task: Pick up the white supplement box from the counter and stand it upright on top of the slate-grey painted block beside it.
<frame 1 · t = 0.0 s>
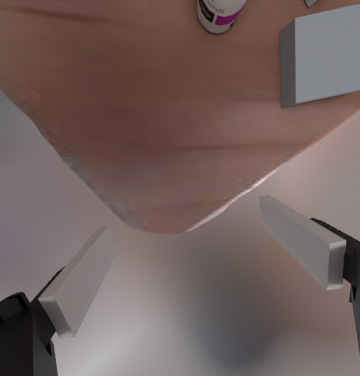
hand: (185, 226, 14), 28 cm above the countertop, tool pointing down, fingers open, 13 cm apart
supplement can: (217, 10, 33), on the countertop
slate riser block: (311, 66, 37), on the countertop
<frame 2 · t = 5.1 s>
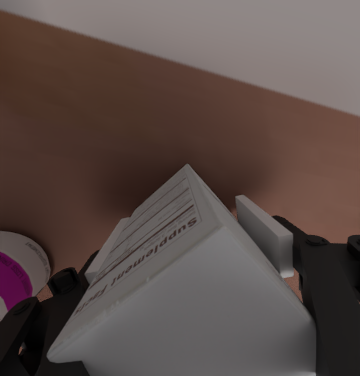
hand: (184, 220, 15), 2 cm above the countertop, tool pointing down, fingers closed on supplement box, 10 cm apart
supplement can: (17, 259, 19), on the countertop
supplement box: (183, 210, 18), on the countertop, touching gripper
when the fingers open (9 cm above the countertop, at t = 11.3 s): supplement box drops 2 cm, resting on slate riser block.
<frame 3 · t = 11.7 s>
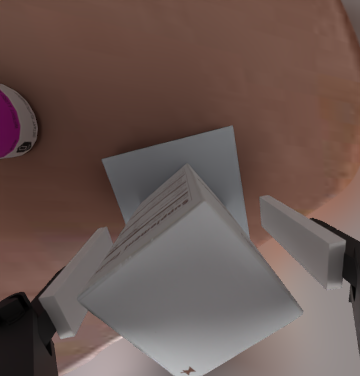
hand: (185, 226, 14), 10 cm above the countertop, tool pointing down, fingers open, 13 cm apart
supplement can: (8, 122, 21), on the countertop
supplement box: (183, 205, 20), point 4 cm above the countertop, touching slate riser block
slate riser block: (180, 191, 24), on the countertop, touching supplement box
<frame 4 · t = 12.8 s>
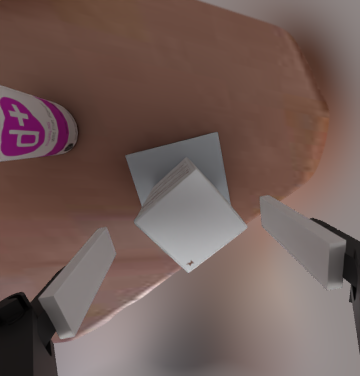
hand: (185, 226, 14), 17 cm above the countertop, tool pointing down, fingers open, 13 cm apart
supplement can: (55, 129, 29), on the countertop
supplement box: (184, 188, 27), point 4 cm above the countertop, touching slate riser block
slate riser block: (181, 181, 32), on the countertop, touching supplement box
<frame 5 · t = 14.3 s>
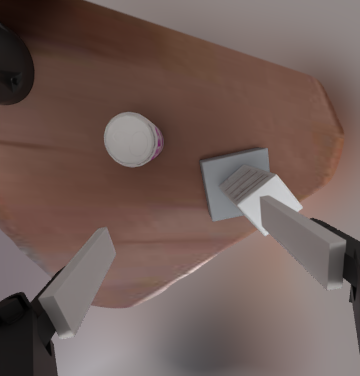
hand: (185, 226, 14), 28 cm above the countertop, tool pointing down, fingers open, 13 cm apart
supplement can: (146, 141, 39), on the countertop
supplement box: (240, 186, 38), point 4 cm above the countertop
slate riser block: (231, 181, 42), on the countertop
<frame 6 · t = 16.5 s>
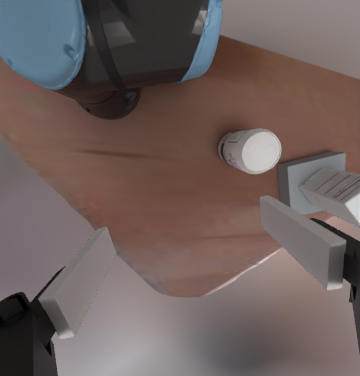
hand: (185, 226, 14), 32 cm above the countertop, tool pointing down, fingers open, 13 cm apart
supplement can: (232, 148, 44), on the countertop
supplement box: (316, 186, 43), point 4 cm above the countertop, touching slate riser block
slate riser block: (302, 182, 48), on the countertop, touching supplement box
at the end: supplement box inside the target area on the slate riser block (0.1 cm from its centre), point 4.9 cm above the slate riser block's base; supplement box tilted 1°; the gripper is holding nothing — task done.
